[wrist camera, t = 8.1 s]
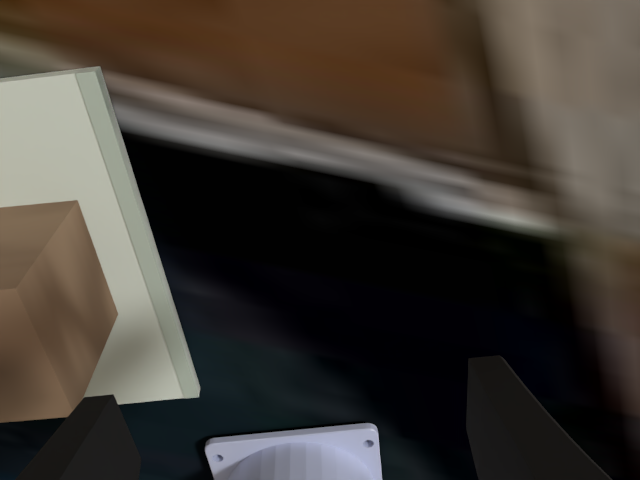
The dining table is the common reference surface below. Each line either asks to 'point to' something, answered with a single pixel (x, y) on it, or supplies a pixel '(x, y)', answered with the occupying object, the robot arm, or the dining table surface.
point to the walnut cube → (49, 310)
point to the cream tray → (97, 222)
